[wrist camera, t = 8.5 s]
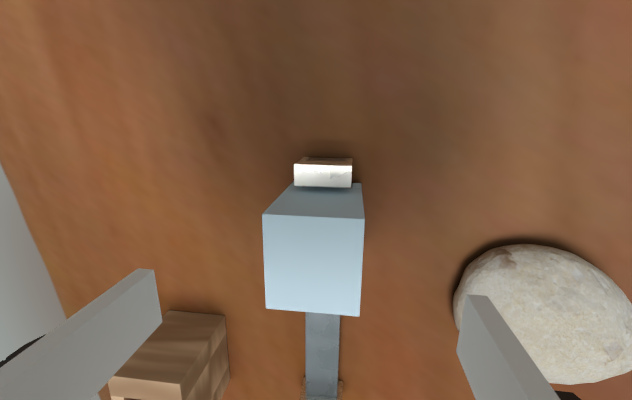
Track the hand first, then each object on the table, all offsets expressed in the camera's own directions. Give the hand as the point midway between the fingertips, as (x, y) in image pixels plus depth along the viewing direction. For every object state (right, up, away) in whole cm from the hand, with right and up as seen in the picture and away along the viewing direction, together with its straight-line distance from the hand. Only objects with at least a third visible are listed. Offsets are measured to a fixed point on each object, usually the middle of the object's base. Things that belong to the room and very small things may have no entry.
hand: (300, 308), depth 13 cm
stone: (+19, -4, +13) cm, 23 cm away
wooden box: (-11, -11, +19) cm, 24 cm away
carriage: (+2, +3, +13) cm, 14 cm away
